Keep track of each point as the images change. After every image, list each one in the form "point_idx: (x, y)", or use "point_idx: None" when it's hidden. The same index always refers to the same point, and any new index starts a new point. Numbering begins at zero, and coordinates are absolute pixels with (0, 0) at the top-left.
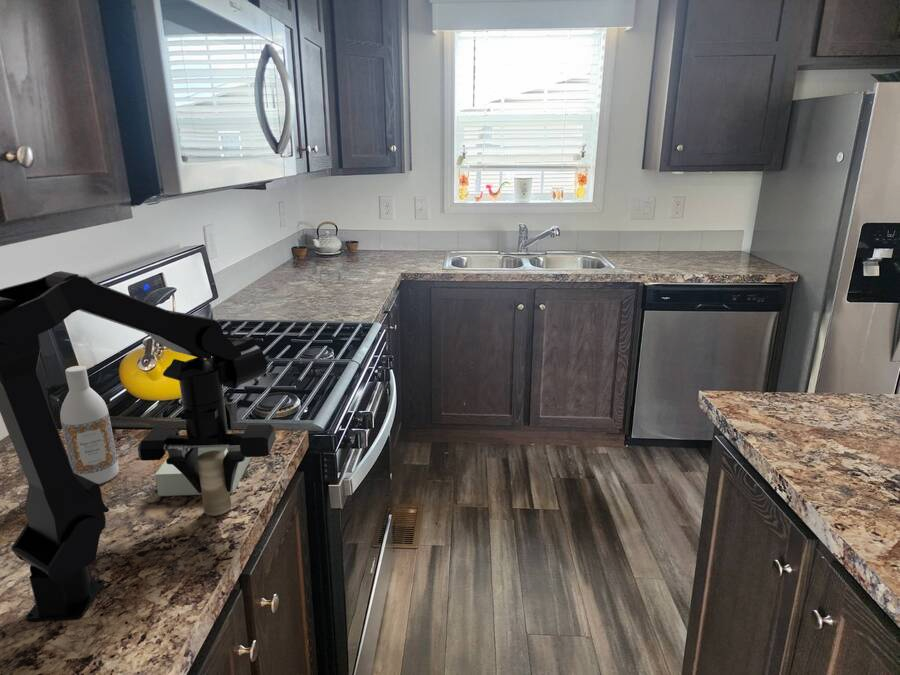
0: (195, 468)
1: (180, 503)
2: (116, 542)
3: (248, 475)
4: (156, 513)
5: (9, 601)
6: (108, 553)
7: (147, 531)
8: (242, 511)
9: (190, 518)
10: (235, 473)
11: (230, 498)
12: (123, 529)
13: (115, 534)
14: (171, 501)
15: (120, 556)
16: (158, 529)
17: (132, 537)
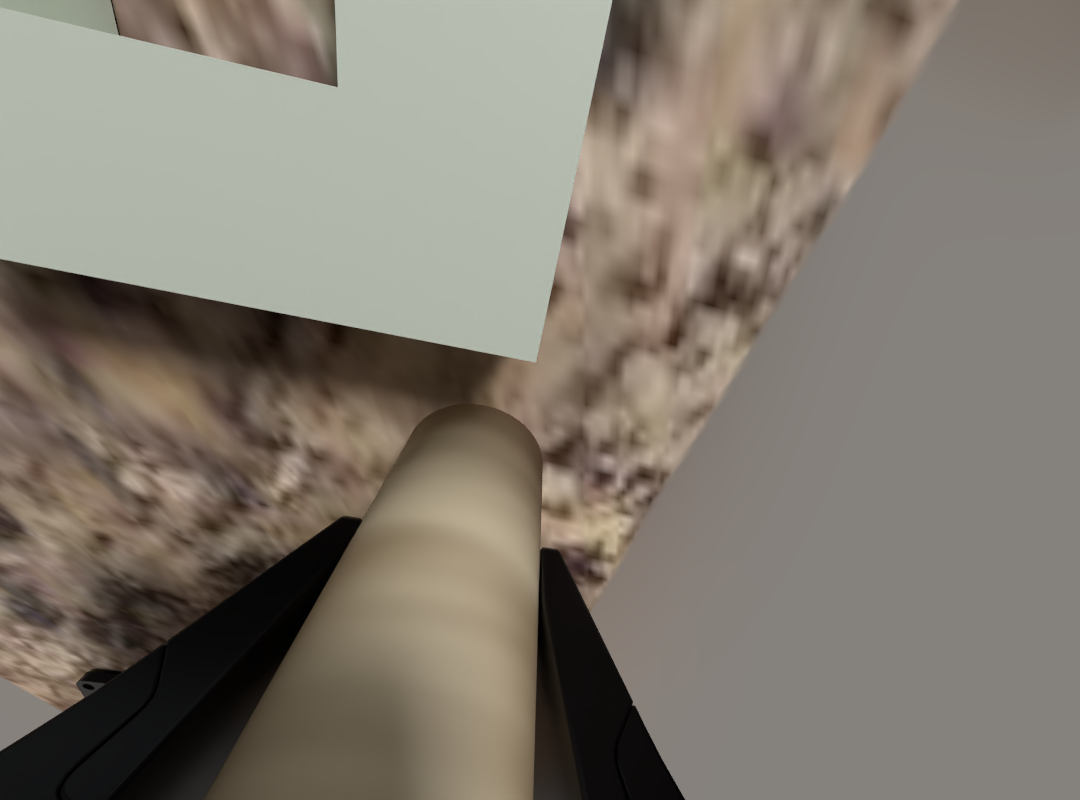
0: (200, 797)
1: (239, 329)
2: (120, 547)
3: (656, 12)
4: (154, 395)
5: (15, 682)
6: (139, 590)
7: (204, 514)
8: (594, 481)
9: (357, 474)
10: (607, 661)
11: (541, 490)
12: (80, 479)
13: (72, 503)
14: (167, 291)
15: (195, 609)
16: (245, 513)
17: (165, 534)
